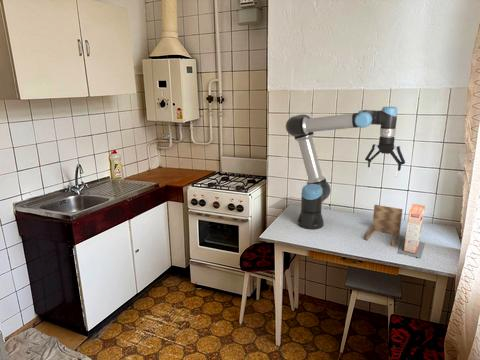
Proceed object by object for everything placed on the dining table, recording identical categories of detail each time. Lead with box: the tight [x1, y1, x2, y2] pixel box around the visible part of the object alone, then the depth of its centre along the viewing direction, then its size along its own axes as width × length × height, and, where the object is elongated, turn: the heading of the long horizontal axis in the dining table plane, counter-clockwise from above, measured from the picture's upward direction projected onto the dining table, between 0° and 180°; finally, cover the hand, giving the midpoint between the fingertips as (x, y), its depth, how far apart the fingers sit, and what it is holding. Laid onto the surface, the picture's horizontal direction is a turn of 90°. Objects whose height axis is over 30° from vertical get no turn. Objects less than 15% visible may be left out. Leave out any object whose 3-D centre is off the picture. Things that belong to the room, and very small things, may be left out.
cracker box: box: [404, 203, 426, 254], centre depth 171 cm, size 14×6×21 cm, turn 147°
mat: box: [397, 238, 426, 259], centre depth 174 cm, size 10×18×1 cm, turn 147°
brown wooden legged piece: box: [365, 204, 403, 247], centre depth 185 cm, size 14×16×15 cm
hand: (383, 174), depth 190 cm, fingers open, 13 cm apart
